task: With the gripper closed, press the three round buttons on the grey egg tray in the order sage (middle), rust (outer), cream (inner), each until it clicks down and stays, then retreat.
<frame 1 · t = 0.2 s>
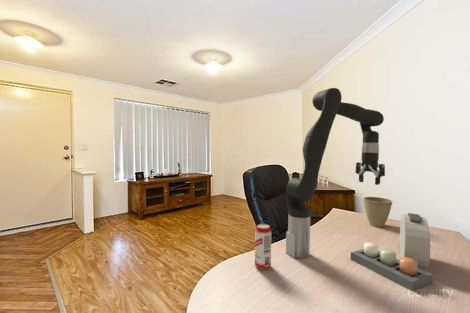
hand: (369, 183, 116), 29 cm above the table, fingers open, 8 cm apart
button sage: (388, 257, 87), point 5 cm above the table, slide at 0.0 cm
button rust: (408, 266, 80), point 5 cm above the table, slide at 0.0 cm
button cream: (370, 250, 93), point 5 cm above the table, slide at 0.0 cm
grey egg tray: (387, 269, 87), on the table
alarm clock: (412, 262, 94), on the table
plant pot: (376, 225, 139), on the table
beer can: (262, 266, 89), on the table
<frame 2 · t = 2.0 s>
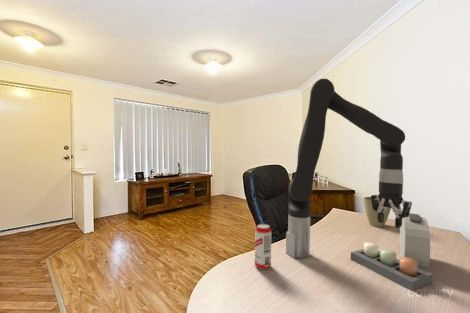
hand: (389, 224, 86), 17 cm above the table, fingers open, 5 cm apart
nothing on the table moved.
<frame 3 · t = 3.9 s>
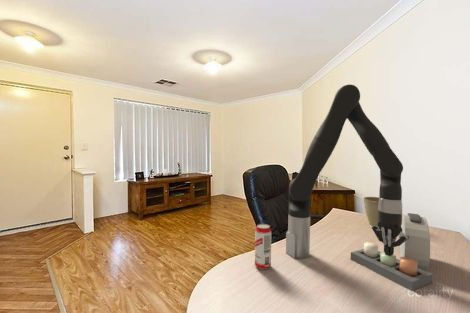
hand: (388, 254, 87), 6 cm above the table, fingers closed
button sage: (388, 260, 87), point 4 cm above the table, slide at 1.2 cm, touching gripper
everything else where it was.
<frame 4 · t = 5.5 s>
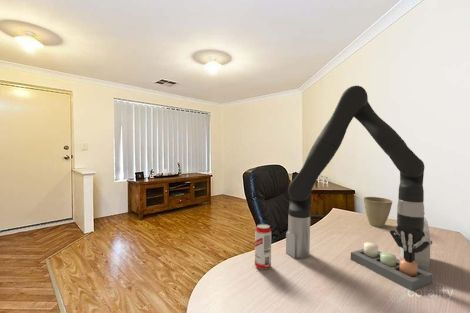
hand: (409, 261, 80), 7 cm above the table, fingers closed
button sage: (388, 261, 87), point 3 cm above the table, slide at 1.3 cm
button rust: (408, 267, 80), point 4 cm above the table, slide at 0.5 cm, touching gripper
everything else where it was.
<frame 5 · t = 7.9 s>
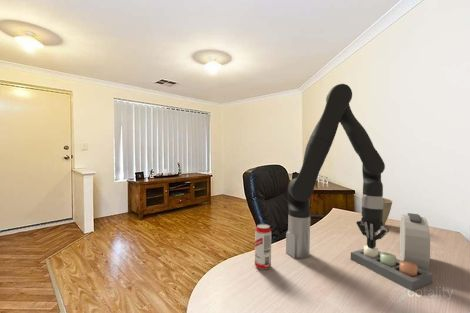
hand: (371, 247, 93), 6 cm above the table, fingers closed
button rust: (408, 270, 81), point 3 cm above the table, slide at 1.3 cm
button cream: (370, 253, 93), point 4 cm above the table, slide at 1.2 cm, touching gripper
everything else where it was.
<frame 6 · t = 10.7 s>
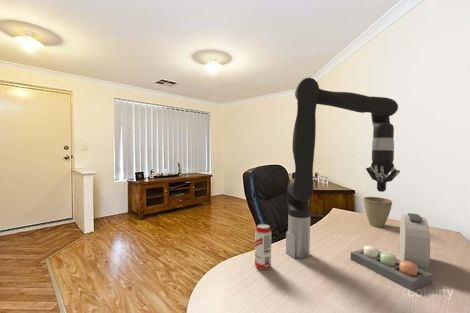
hand: (381, 191, 93), 29 cm above the table, fingers closed
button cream: (370, 253, 93), point 3 cm above the table, slide at 1.3 cm
everything else where it was.
at the end: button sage slide at 1.3 cm; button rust slide at 1.3 cm; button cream slide at 1.3 cm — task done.
